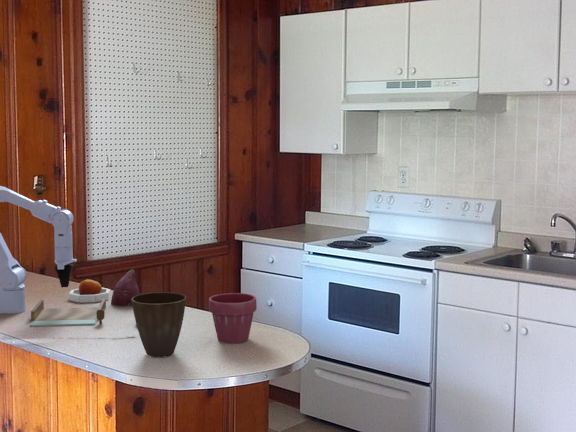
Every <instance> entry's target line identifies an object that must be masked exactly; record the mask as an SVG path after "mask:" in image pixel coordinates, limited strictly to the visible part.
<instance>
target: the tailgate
mask: <svg viewBox="0 0 576 432" xmlns="http://www.w3.org/2000/svg"><path fill="white" fill-rule="evenodd" d="M97 321H98V319H86V320H46V321H32V322H31V323H30V324H29V327H30V328H36V327H73V326H74V327H76V326H80V327H81V326H95V325H96V323H97Z"/></svg>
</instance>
